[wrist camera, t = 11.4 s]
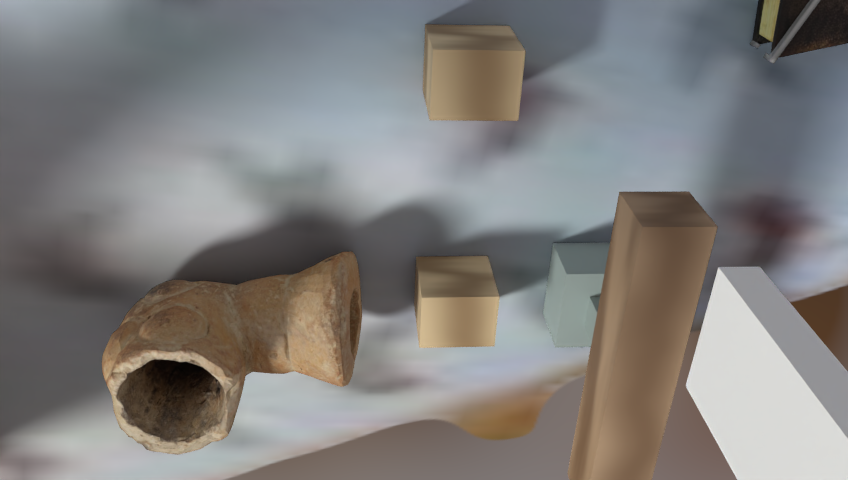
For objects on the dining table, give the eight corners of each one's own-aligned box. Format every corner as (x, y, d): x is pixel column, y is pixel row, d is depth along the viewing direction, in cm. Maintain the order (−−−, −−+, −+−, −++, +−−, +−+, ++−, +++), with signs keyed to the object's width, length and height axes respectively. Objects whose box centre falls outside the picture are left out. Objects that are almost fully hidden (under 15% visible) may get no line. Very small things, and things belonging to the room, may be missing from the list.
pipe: (375, 328, 57) (380, 426, 48) (157, 367, 57) (123, 471, 49) (349, 222, 52) (349, 309, 44) (112, 265, 53) (66, 360, 44)
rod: (567, 473, 55) (582, 520, 51) (619, 191, 44) (642, 227, 40) (623, 471, 55) (641, 517, 52) (688, 191, 44) (717, 226, 40)
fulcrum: (543, 313, 57) (569, 386, 51) (553, 243, 54) (582, 310, 47) (622, 312, 58) (659, 383, 51) (637, 242, 55) (677, 308, 48)
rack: (414, 304, 56) (419, 347, 52) (425, 24, 46) (433, 49, 42) (483, 303, 56) (494, 346, 52) (509, 25, 46) (525, 50, 42)
